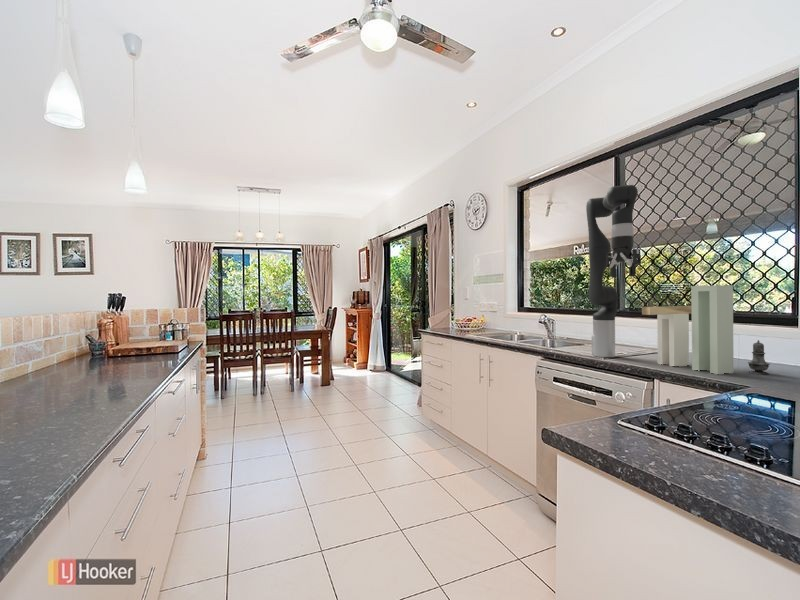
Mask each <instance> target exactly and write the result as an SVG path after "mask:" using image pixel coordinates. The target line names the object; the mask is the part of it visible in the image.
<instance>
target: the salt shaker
mask: <svg viewBox="0 0 800 600" xmlns="http://www.w3.org/2000/svg"><path fill="white" fill-rule="evenodd" d="M751 353H752V360H751V361H748V362H747V364H748V366H749V368H750V369H751V370H750V371H748V373H749V374H754V375H761V376H762V375H763V376H765V375H767V376H769V375H770V374H769V373H768V372H767V370H768V369H769V367H770V365H771V363H768V362H766V360H765V355H766V352H765V345H764V343H762V342H761V341H760V340H759V339H758V340H757V342H755V343H753V344H752V351H751Z"/></svg>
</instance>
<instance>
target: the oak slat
mask: <svg viewBox="0 0 800 600" xmlns="http://www.w3.org/2000/svg"><path fill="white" fill-rule="evenodd" d="M660 314H689V315H690V314H692V308H691V305H675V306H673V305H672V306H671V305H669V306H667V305H665V306H641V315H643V316H644V315H647V316H656V315H660Z"/></svg>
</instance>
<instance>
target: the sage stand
mask: <svg viewBox="0 0 800 600" xmlns="http://www.w3.org/2000/svg"><path fill="white" fill-rule="evenodd" d="M690 287H691V288H690V292H691V293H690V295H691V297H690V298H691V305H690V306H691V308H692V313H691V370H692V371H694V370H698V371H697V372H701V371H700V370H707V371H709V372H710V373H709V374H711V373H715V374H714V375H717V374H719V375H725V374H724V373H729V374H734V372H735V371H734V362H735V361H734V284H732V285H727V284H725V285H721V284H719V285H715V284H714V285H691V286H690Z"/></svg>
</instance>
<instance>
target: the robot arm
mask: <svg viewBox="0 0 800 600" xmlns="http://www.w3.org/2000/svg"><path fill="white" fill-rule="evenodd" d="M638 193H639V192H638V187H636V186H635V185H634V184H626V185H625V184H624V185H615V186H612V187H609V188H608V190H607V193H606V195H605V196H604V197H603V196H602V197H595V198H588V200H587V201H586V206H585V207H586V220H587V221H586V222H587V228H588V229H587V231H588V257H589V258H588V259H589V282H588V300H589V302H590V304H591V305H593V306H599V307H600V308H599V310H597V312H595V313H593V314H592V335H591V355H592V356H594V357H599V358H615V357H616V315H617V311H618V293H617V290H616V288H615V287H613V286H611V285H604V284H603V282H604V280H603V279H604V274H605V271H606V270H607V268H609V269H610V278H612V279H616V278H618V272H617V271H618V270H617V269H618V268H617V267H618V265H620V264H621V263H623V262H625V263H627V265H628V276H629V277H635V276H636V274H637V266H639V265H641V264H642V259H641V249H640V248H634V244H635V243H634V226H633V223H634V221H633V217H634V216H633V213H634V208H635V203H636V200H637V197H638ZM623 204H625V206H624V207H623V208H620V209H617V208H619V207H620V206H622V205H623ZM610 216H611V242H610V241H609V239H608V238H607V236H606V235H605V234H604V233H603V231H602V230H601V229H600V227H599V225H598V222H597V219H599V218H607V217H610ZM611 249H612V250H613V251H612V250H611Z"/></svg>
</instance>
